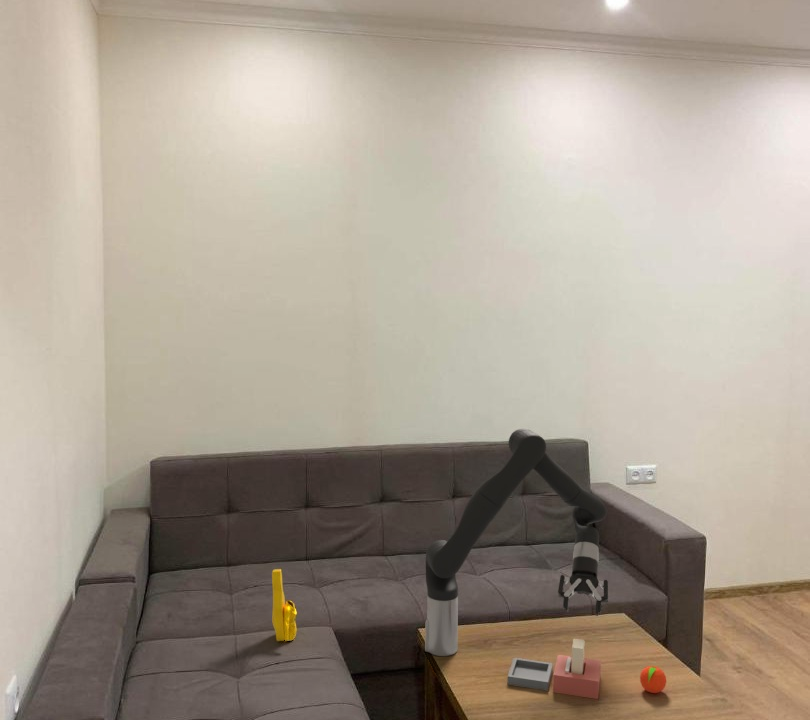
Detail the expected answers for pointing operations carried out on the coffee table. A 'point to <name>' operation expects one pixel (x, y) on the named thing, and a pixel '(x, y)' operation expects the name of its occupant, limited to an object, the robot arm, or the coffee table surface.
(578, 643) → the tall beige block
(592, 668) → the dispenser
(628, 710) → the coffee table surface
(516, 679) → the tray
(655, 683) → the clementine
